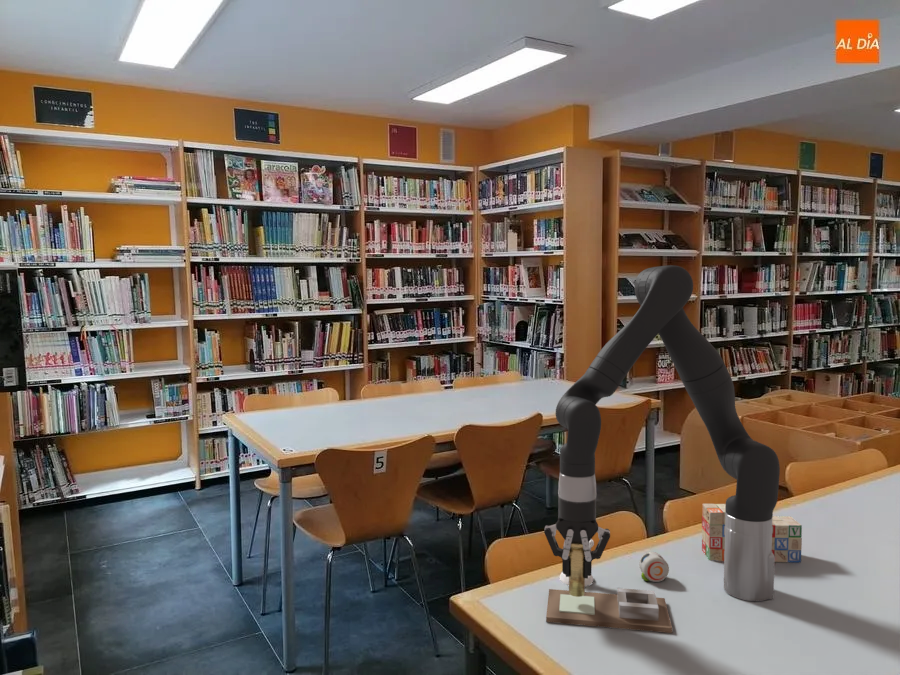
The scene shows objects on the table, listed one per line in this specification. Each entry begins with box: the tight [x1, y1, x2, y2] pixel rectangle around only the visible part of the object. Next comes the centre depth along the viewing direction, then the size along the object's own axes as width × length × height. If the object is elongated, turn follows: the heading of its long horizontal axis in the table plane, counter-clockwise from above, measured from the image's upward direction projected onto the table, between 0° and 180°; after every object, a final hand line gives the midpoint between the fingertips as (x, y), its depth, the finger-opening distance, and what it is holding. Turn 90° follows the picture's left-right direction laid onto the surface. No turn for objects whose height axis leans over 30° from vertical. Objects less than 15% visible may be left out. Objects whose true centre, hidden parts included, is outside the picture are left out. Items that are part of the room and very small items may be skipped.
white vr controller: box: [559, 538, 595, 587], centre depth 147 cm, size 8×12×7 cm
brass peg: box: [568, 543, 586, 597], centre depth 133 cm, size 4×4×11 cm
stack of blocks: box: [701, 503, 803, 563], centre depth 158 cm, size 21×6×12 cm, turn 85°
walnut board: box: [545, 587, 673, 634], centre depth 133 cm, size 24×12×4 cm, turn 79°
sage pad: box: [559, 594, 595, 615], centre depth 134 cm, size 7×7×1 cm
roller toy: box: [638, 551, 670, 583], centre depth 147 cm, size 4×6×6 cm
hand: (576, 575), depth 133 cm, fingers closed on brass peg, 3 cm apart
